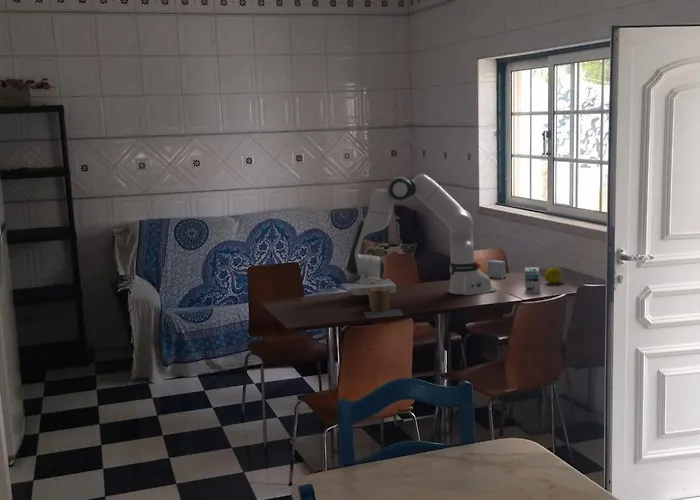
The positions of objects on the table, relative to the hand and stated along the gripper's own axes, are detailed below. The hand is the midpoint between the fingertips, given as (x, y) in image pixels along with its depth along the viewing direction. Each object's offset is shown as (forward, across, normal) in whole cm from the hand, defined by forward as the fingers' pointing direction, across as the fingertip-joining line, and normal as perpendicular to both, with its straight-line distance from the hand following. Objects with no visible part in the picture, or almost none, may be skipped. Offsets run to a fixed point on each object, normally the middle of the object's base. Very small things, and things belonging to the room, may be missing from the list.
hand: (376, 292), depth 355 cm
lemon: (-16, +90, +6) cm, 92 cm away
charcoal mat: (+18, 0, +6) cm, 19 cm away
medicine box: (-41, +69, +6) cm, 81 cm away
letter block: (+2, 0, +2) cm, 3 cm away
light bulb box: (-2, +74, +6) cm, 74 cm away
